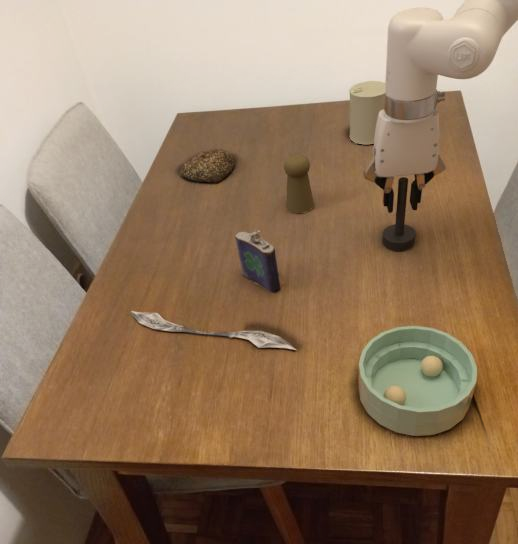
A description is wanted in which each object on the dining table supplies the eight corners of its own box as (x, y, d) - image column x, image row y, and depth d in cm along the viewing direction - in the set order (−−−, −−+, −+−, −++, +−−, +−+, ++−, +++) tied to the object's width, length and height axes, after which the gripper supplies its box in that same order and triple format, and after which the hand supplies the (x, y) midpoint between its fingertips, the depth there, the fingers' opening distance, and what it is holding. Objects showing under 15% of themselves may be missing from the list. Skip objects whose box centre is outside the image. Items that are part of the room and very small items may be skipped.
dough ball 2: (438, 364, 77) (441, 350, 75) (443, 380, 75) (446, 366, 73) (417, 365, 78) (419, 352, 75) (422, 381, 75) (424, 368, 73)
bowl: (454, 350, 79) (460, 321, 75) (483, 434, 69) (491, 407, 65) (353, 357, 81) (353, 330, 77) (365, 441, 70) (366, 415, 66)
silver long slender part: (132, 310, 95) (119, 329, 92) (131, 307, 95) (118, 326, 92) (303, 332, 86) (296, 354, 83) (303, 329, 85) (295, 351, 82)
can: (344, 132, 133) (344, 83, 124) (379, 125, 133) (381, 75, 124) (355, 148, 126) (356, 97, 118) (392, 141, 127) (395, 89, 118)
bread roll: (216, 188, 122) (212, 168, 118) (175, 179, 127) (169, 159, 124) (245, 161, 129) (242, 142, 125) (205, 154, 134) (201, 135, 131)
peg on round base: (411, 231, 101) (417, 168, 92) (417, 249, 97) (424, 186, 88) (380, 234, 102) (383, 172, 92) (384, 253, 98) (388, 190, 88)
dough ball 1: (403, 394, 74) (404, 380, 72) (407, 411, 72) (408, 397, 70) (381, 395, 75) (382, 382, 72) (384, 412, 73) (385, 399, 70)
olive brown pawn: (282, 213, 111) (277, 164, 103) (290, 197, 115) (285, 149, 107) (310, 214, 109) (307, 165, 101) (317, 199, 113) (314, 150, 105)
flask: (239, 275, 98) (230, 226, 91) (251, 267, 100) (243, 219, 92) (273, 295, 93) (267, 246, 86) (285, 287, 94) (279, 237, 87)
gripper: (458, 87, 83) (443, 191, 96) (352, 100, 84) (352, 201, 97) (471, 107, 77) (453, 214, 91) (357, 120, 79) (356, 224, 92)
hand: (401, 206), depth 94 cm, fingers open, 3 cm apart
